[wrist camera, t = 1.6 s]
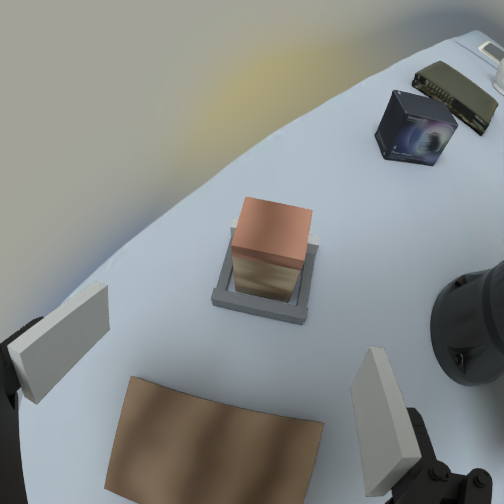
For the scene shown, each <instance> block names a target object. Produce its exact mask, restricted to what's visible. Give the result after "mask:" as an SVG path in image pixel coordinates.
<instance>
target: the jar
mask: <svg viewBox="0 0 504 504" xmlns="http://www.w3.org/2000/svg"><path fill="white" fill-rule="evenodd" d="M493 86H494V87H495V89H496V90H497V91H498V92H500V93H501V94H502V95H503V96H504V58H503V59H502V60H501V62H500V64H499V66H498V69H497V73H496V76H495V82H494V83H493Z"/></svg>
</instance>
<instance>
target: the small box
mask: <svg viewBox="0 0 504 504" xmlns="http://www.w3.org/2000/svg"><path fill="white" fill-rule="evenodd" d="M457 127H458V124H457V122H456V120H455V119H454V117H453V116H452V114H451V112H450V111H449V109H448V108H447V106H446V105H445V103H444V102H442V101H438V100H435V99H431V98H427V97H423V96H419V95H415V94H411V93H407V92H402V91H398V90H393V91H392V95H391V98H390V101H389V103H388V105H387V108H386V110H385V113H384V115H383V118H382V120H381V122H380V125H379V127H378V130H377V132H376V133H375V137H376V139H377V142H378V144H379V147H380V149H381V153H382V155H383V157H384V159H388V160H396V161H404V162H411V163H417V164H424V165H430V166H434V164H435V162H436V161H437V159H438V158H439V156H440V155H441V153H442V151H443V150H444V148H445V147H446V145H447V143H448V142H449V140H450V138H451V137H452V135H453V134H454V132H455V130H456V129H457Z"/></svg>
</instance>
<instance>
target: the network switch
mask: <svg viewBox="0 0 504 504" xmlns="http://www.w3.org/2000/svg"><path fill="white" fill-rule="evenodd" d="M421 82H422V84H421ZM412 86H413V87H414V88H417V89H419V90H422V91H423V92H425V93H426V94H427V96H428V95H429V96H431V97H432V98H433V99H435V100H438V101H442V102H444V103H445V105H446V106H447V108H448V109H449V110H450V111H451V113H454V114H456V115H457V116H458V117H460V118H461V119H463V120H464V121H465V122H466V123H468V124H469V125H470V126H472V128H473V129H475V130H476V131H478V132H479V135H480V136H481V135H483V133H484V132H485V130H486V129H487V127H488V126H489V123H490V121H491V118H492V116H493V114H494V112H495V109H496V108H497V106H498V102H497V101H496V100H495V99H494V98H493V97H491V96H490V95H489V94H488V93H486V92H485V91H484V90H483V89H481V88H480V87H479V86H477V85H476V84H475V83H473V82H472V81H471V80H469V79H468V78H466V77H465V76H464V75H462V74H461V73H459V72H458V71H456V70H455V69H453V68H452V67H450V66H449V65H447V64H446V63H444V62H442V61H438V62H436V63H433V64H432V65H429V66H428V67H426V68H424V69H422V70H421V71H419V72H417V73H416V74H415V77H414V80H413V82H412ZM430 93H431V95H430Z"/></svg>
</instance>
